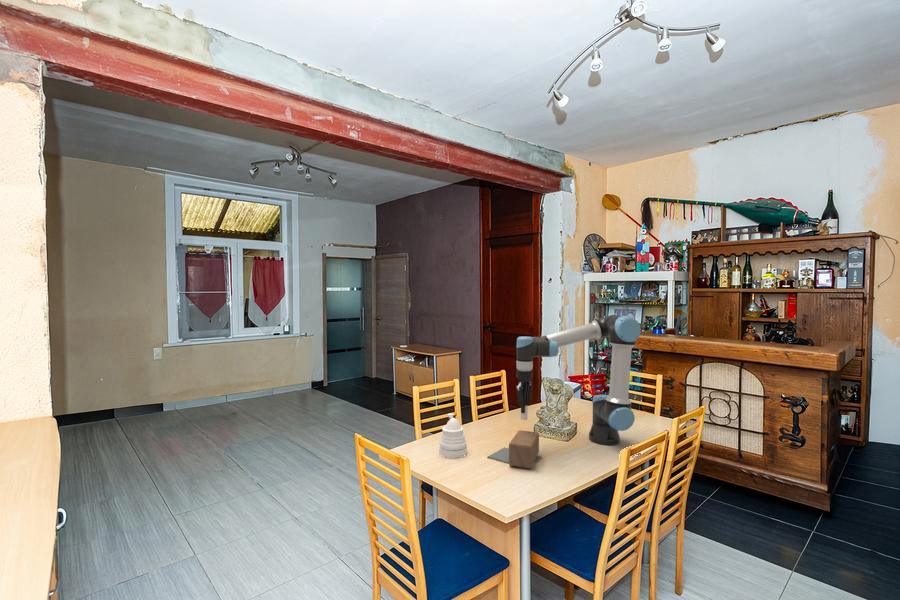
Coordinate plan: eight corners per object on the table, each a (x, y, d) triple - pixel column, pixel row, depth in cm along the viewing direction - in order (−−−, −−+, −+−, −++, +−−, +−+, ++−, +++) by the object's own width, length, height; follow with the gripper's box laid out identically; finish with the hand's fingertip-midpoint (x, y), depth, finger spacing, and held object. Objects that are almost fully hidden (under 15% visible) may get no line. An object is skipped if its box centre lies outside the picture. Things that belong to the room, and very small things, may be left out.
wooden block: (539, 431, 208) (531, 446, 189) (539, 453, 208) (531, 469, 189) (518, 429, 211) (508, 443, 193) (518, 450, 212) (508, 465, 193)
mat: (542, 458, 203) (542, 457, 203) (526, 468, 191) (526, 467, 191) (504, 448, 215) (504, 447, 215) (487, 457, 204) (487, 456, 204)
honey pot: (433, 452, 210) (434, 414, 210) (454, 446, 219) (454, 409, 218) (451, 460, 200) (451, 421, 200) (472, 453, 209) (472, 415, 208)
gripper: (524, 366, 216) (523, 414, 217) (510, 370, 206) (510, 421, 207) (538, 368, 212) (537, 417, 212) (524, 372, 201) (524, 424, 202)
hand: (524, 419), depth 210 cm, fingers closed
